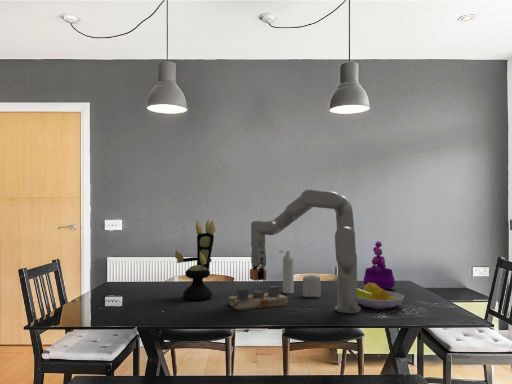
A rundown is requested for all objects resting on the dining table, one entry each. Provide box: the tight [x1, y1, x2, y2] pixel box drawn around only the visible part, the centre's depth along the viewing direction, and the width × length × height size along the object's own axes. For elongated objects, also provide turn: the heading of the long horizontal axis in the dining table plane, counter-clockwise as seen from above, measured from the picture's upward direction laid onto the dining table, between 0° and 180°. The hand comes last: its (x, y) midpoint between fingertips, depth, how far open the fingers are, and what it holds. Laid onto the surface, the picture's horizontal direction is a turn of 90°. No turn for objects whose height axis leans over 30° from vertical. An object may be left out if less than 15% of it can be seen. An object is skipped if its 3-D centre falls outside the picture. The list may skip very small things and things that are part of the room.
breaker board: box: [228, 292, 289, 311], centre depth 213 cm, size 15×28×5 cm, turn 113°
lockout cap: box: [249, 268, 267, 282], centre depth 214 cm, size 7×7×5 cm
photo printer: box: [302, 274, 322, 298], centre depth 233 cm, size 10×4×12 cm, turn 84°
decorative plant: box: [363, 241, 396, 291], centre depth 252 cm, size 19×18×30 cm
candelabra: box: [174, 218, 216, 302], centre depth 232 cm, size 19×22×45 cm
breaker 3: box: [267, 285, 280, 297], centre depth 217 cm, size 4×4×6 cm
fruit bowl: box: [357, 282, 405, 310], centre depth 211 cm, size 28×27×11 cm
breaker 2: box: [252, 290, 264, 299], centre depth 214 cm, size 4×4×6 cm
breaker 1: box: [236, 288, 249, 300], centre depth 210 cm, size 4×4×6 cm
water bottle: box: [279, 250, 295, 294], centre depth 244 cm, size 9×6×25 cm
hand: (258, 277), depth 214 cm, fingers closed on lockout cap, 6 cm apart
